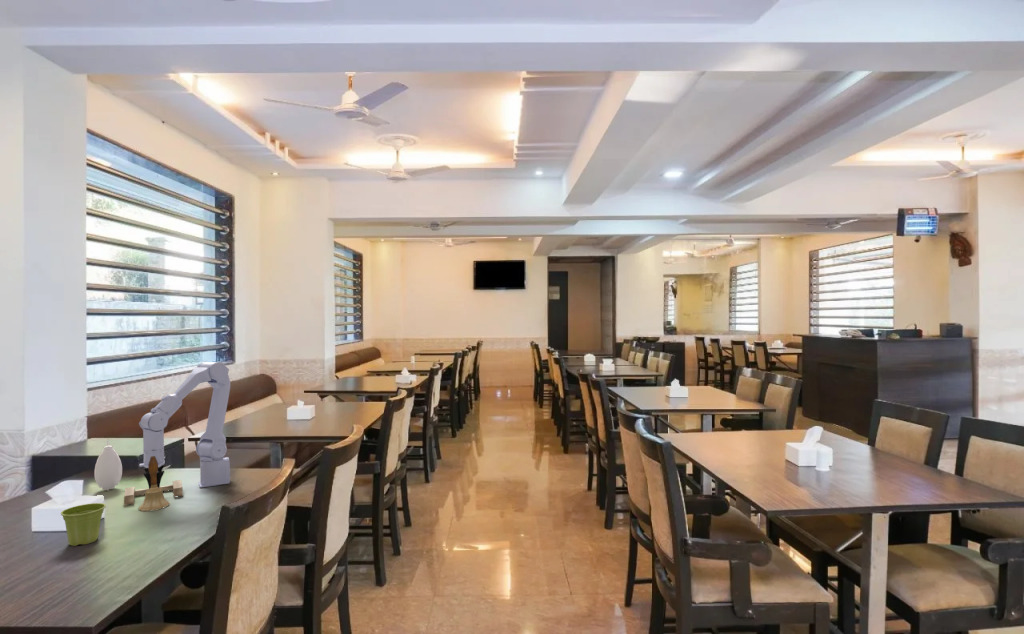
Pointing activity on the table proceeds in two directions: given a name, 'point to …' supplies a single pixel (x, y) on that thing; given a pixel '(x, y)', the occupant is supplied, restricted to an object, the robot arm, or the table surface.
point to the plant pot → (83, 523)
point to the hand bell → (153, 490)
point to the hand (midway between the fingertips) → (154, 490)
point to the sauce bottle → (108, 468)
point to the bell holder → (131, 491)
